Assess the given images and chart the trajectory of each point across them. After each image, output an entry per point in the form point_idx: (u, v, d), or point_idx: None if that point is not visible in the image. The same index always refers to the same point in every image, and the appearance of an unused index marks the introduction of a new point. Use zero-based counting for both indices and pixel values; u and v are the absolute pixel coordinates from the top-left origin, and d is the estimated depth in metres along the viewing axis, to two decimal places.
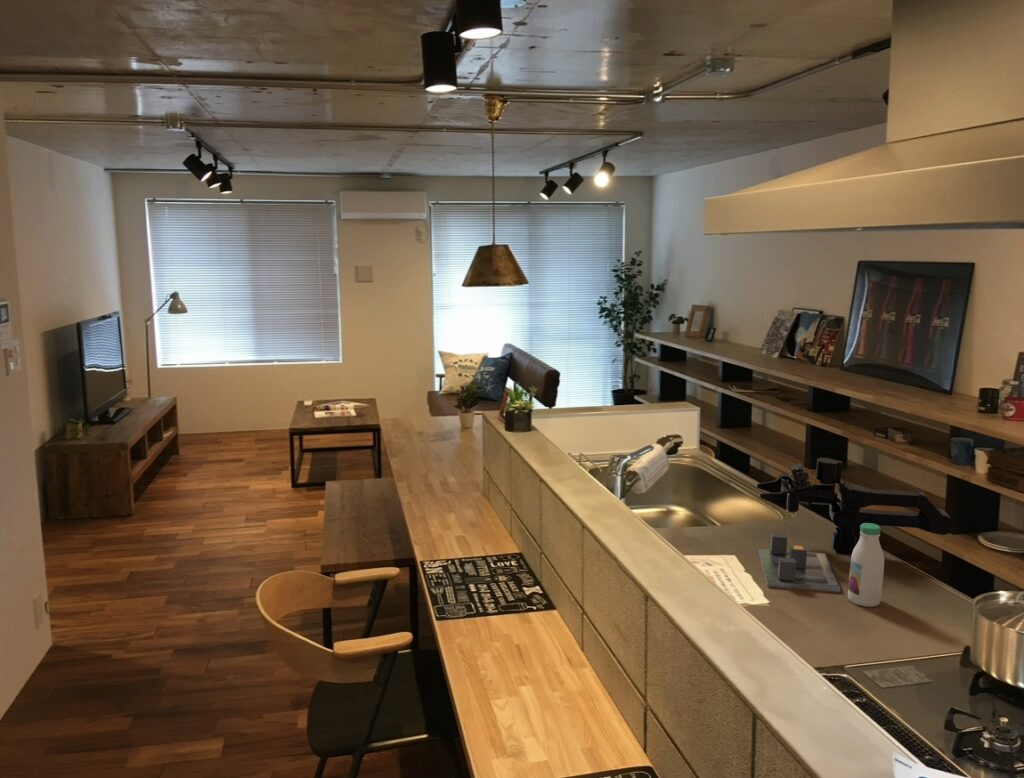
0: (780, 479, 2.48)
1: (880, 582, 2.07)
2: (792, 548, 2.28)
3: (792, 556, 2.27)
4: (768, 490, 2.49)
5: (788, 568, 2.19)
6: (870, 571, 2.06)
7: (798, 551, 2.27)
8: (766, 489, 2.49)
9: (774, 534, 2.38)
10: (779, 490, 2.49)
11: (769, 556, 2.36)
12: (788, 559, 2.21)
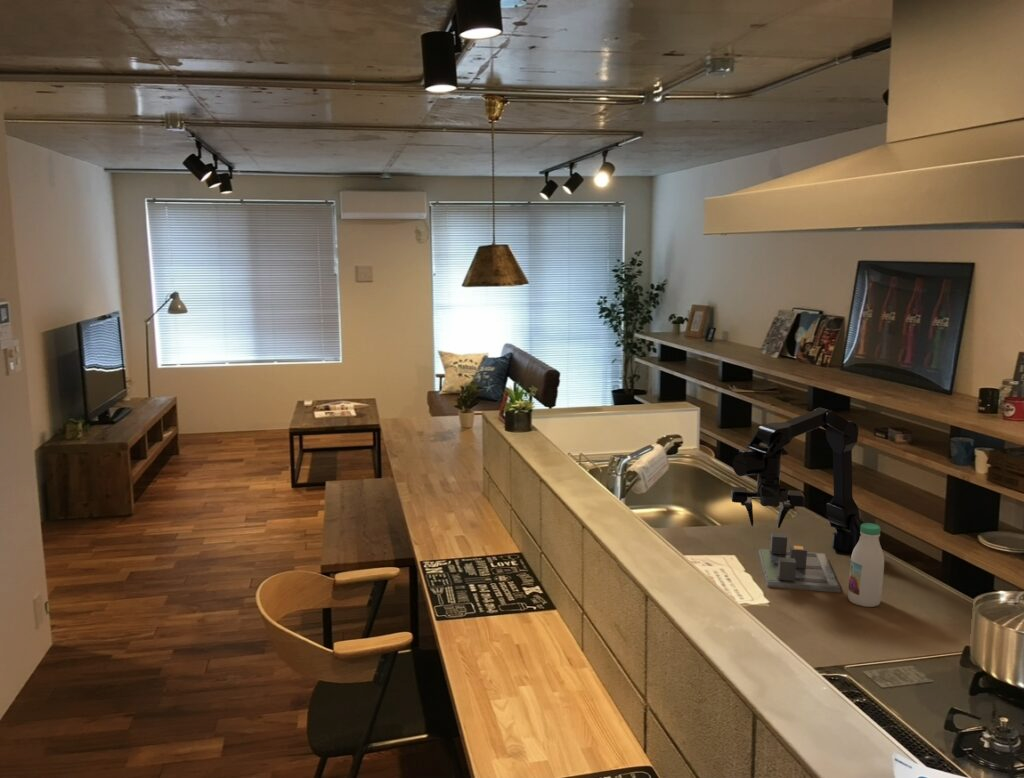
0: (752, 505, 2.26)
1: (880, 582, 2.07)
2: (792, 548, 2.28)
3: (792, 556, 2.27)
4: None
5: (788, 568, 2.19)
6: (870, 571, 2.06)
7: (798, 551, 2.27)
8: None
9: (774, 534, 2.38)
10: None
11: (769, 556, 2.36)
12: (788, 559, 2.21)
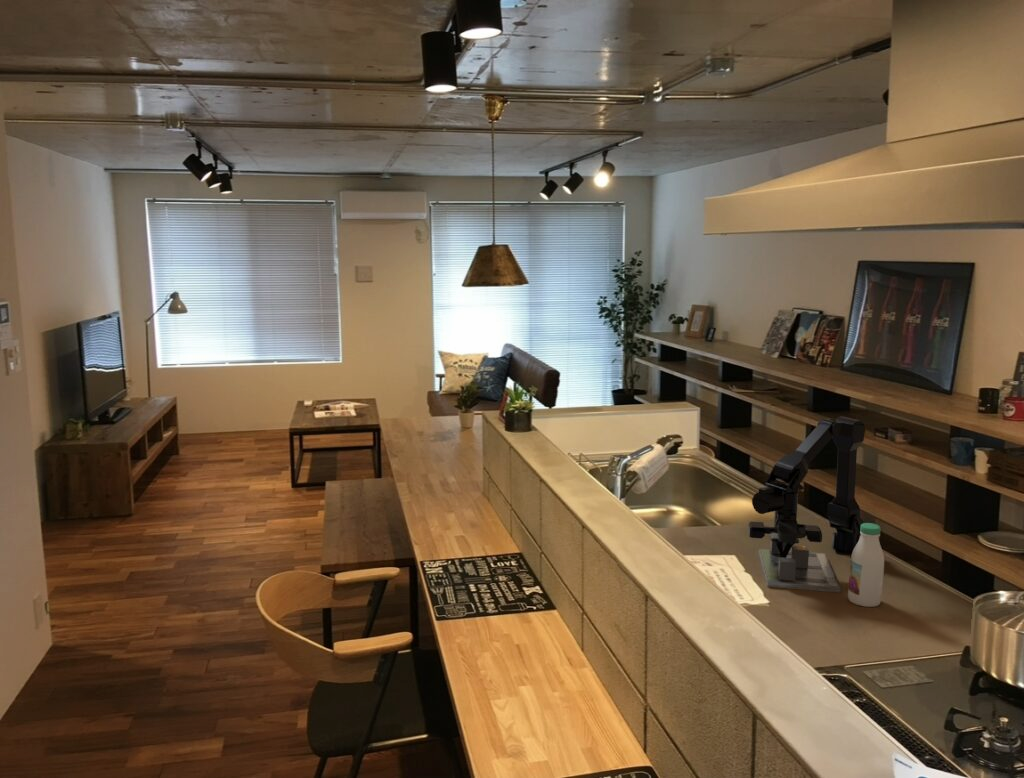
0: None
1: (880, 582, 2.07)
2: (794, 548, 2.28)
3: (794, 556, 2.27)
4: None
5: (788, 568, 2.19)
6: (870, 571, 2.06)
7: (800, 551, 2.27)
8: None
9: None
10: None
11: (769, 556, 2.36)
12: (788, 559, 2.21)
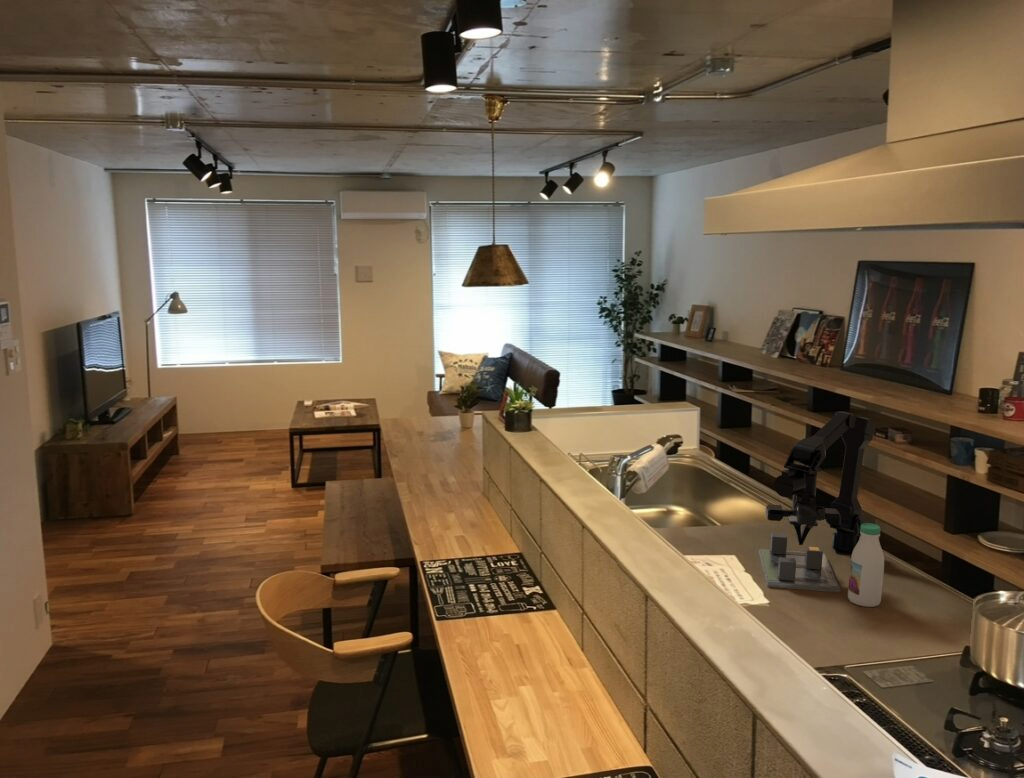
0: None
1: (880, 582, 2.07)
2: (808, 549, 2.27)
3: (808, 557, 2.27)
4: None
5: (788, 568, 2.19)
6: (870, 571, 2.06)
7: (814, 552, 2.26)
8: None
9: (774, 534, 2.38)
10: None
11: (769, 556, 2.36)
12: (788, 559, 2.21)
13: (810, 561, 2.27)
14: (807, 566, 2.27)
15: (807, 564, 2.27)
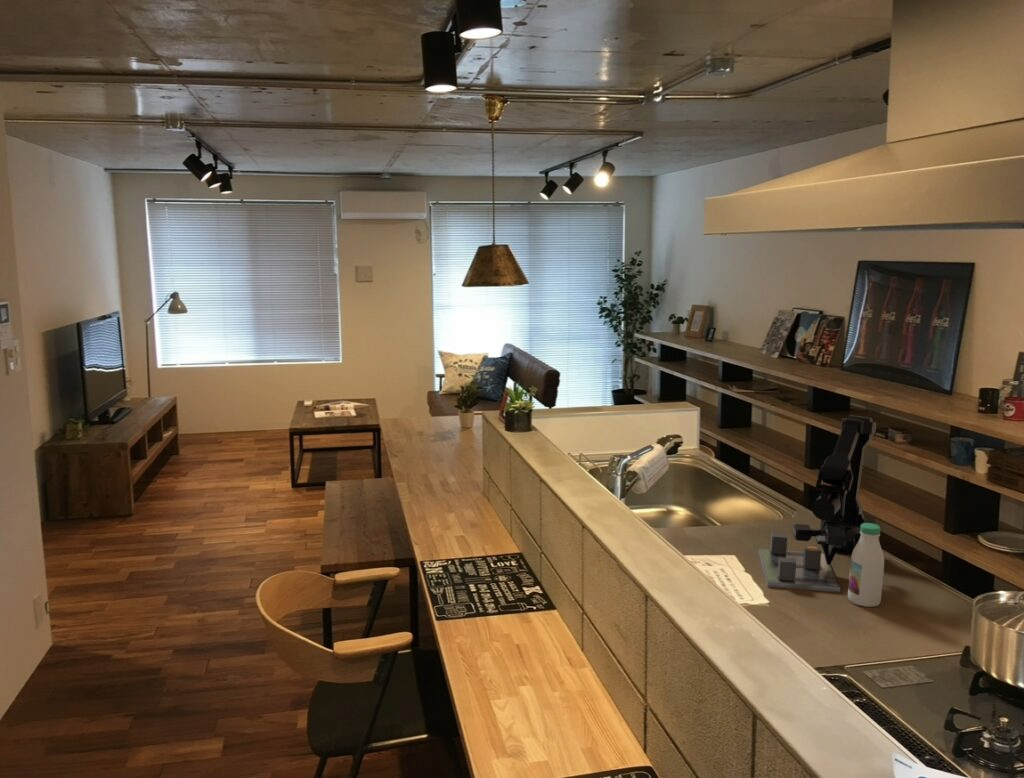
0: None
1: (880, 582, 2.07)
2: (806, 549, 2.27)
3: (806, 557, 2.27)
4: None
5: (788, 568, 2.19)
6: (870, 571, 2.06)
7: (812, 552, 2.26)
8: None
9: (774, 534, 2.38)
10: None
11: (769, 556, 2.36)
12: (788, 559, 2.21)
13: (808, 561, 2.27)
14: (805, 566, 2.27)
15: (805, 564, 2.27)
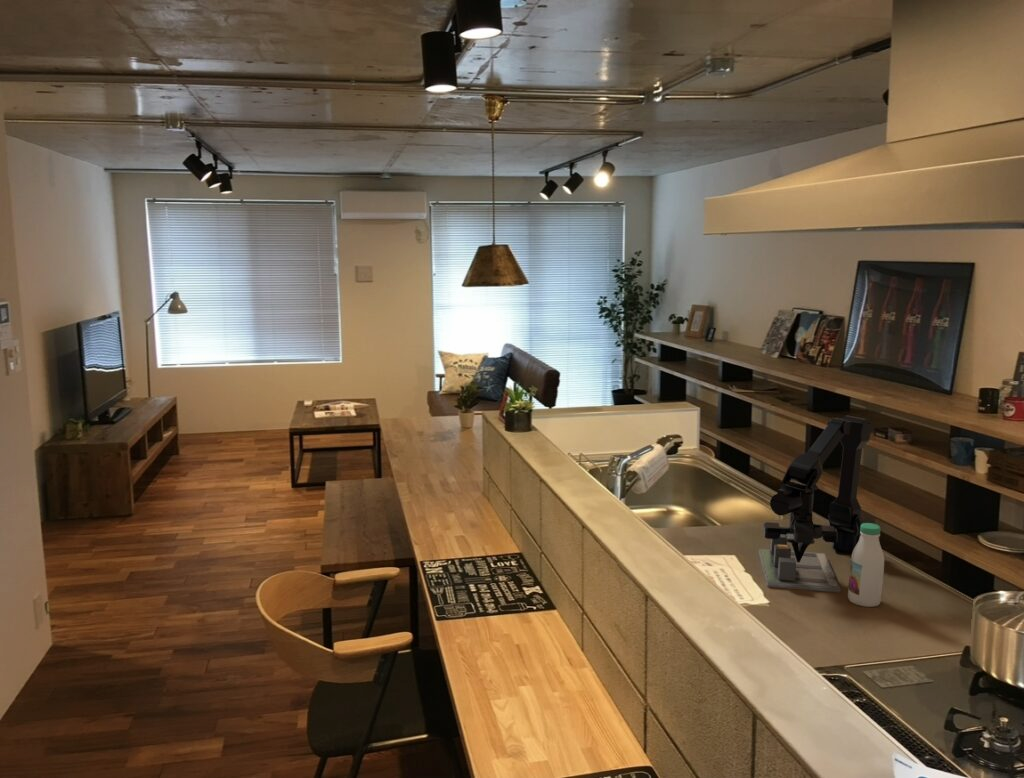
0: None
1: (880, 582, 2.07)
2: (776, 547, 2.29)
3: (776, 555, 2.28)
4: None
5: (788, 568, 2.19)
6: (870, 571, 2.06)
7: (782, 550, 2.27)
8: None
9: None
10: None
11: (769, 556, 2.36)
12: (788, 559, 2.21)
13: None
14: (776, 564, 2.29)
15: (776, 562, 2.28)
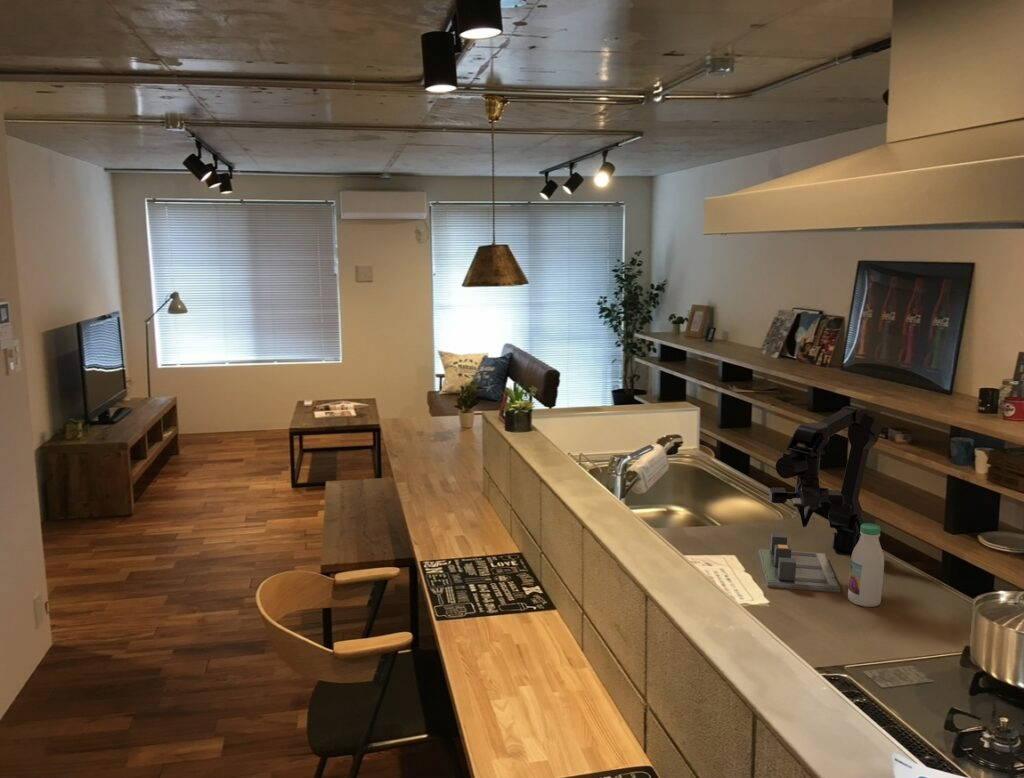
0: (804, 506, 2.26)
1: (880, 582, 2.07)
2: (777, 547, 2.29)
3: (776, 555, 2.28)
4: None
5: (788, 568, 2.19)
6: (870, 571, 2.06)
7: (782, 550, 2.27)
8: None
9: (774, 534, 2.38)
10: None
11: (769, 556, 2.36)
12: (788, 559, 2.21)
13: None
14: (776, 564, 2.29)
15: (776, 562, 2.28)
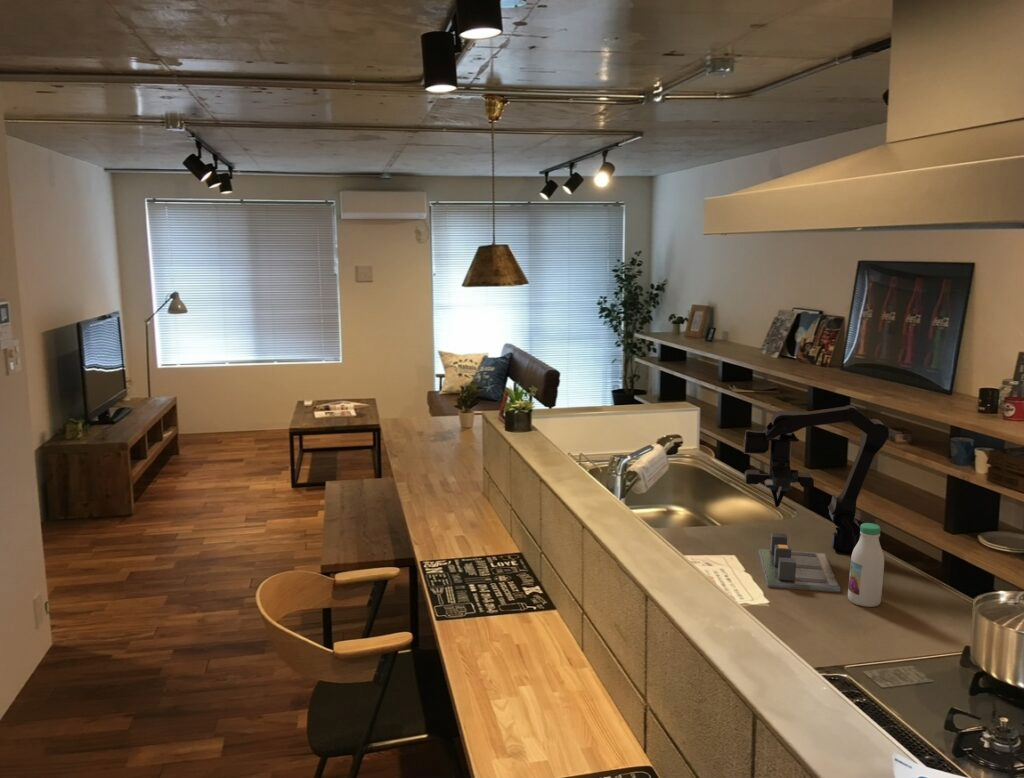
0: (776, 487, 2.42)
1: (880, 582, 2.07)
2: (777, 547, 2.29)
3: (776, 555, 2.28)
4: None
5: (788, 568, 2.19)
6: (870, 571, 2.06)
7: (782, 550, 2.27)
8: None
9: (774, 534, 2.38)
10: None
11: (769, 556, 2.36)
12: (788, 559, 2.21)
13: None
14: (776, 564, 2.29)
15: (776, 562, 2.28)
